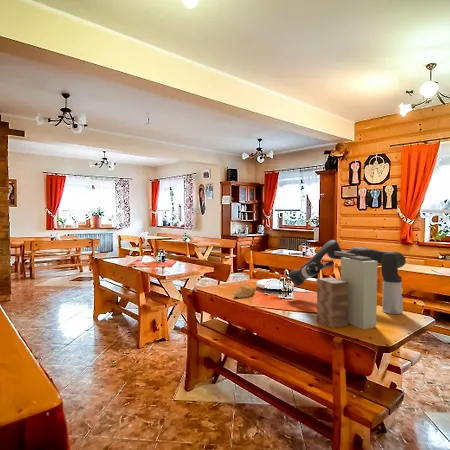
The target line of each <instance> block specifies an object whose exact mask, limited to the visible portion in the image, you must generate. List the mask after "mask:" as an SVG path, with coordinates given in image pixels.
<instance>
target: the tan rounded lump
mask: <svg viewBox="0 0 450 450" xmlns="http://www.w3.org/2000/svg"><path fill="white" fill-rule="evenodd" d="M254 293H256V288H254V287H251V286H250V285H247V284H245V285H242V286H239V288H238V289H237V290H236V292H235V293H234V294H233V297H234V298H236V297H237V298H241V297H242V298H249V297H251V296H253V294H254Z"/></svg>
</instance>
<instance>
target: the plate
mask: <svg viewBox="0 0 450 450" xmlns="http://www.w3.org/2000/svg"><path fill="white" fill-rule="evenodd" d="M272 279H273V278H267V279H266V278H264V279H260V280H257V281H256V286H257V287H258V288H261V289H264V286H265V284H266V282H267V281H268V280H272ZM291 282H292V281H291ZM292 286H293V287H294V286H295V284H294V283H293V282H292Z"/></svg>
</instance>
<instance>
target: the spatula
mask: <svg viewBox="0 0 450 450" xmlns="http://www.w3.org/2000/svg"><path fill="white" fill-rule="evenodd" d="M334 255H336V256H341V257H347V258H350V259H353V260H359V261H369V260H371V258H369V257H363V256H356V254H351V253H345V252H339V251H334Z"/></svg>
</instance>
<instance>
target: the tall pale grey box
mask: <svg viewBox="0 0 450 450" xmlns="http://www.w3.org/2000/svg"><path fill="white" fill-rule="evenodd" d="M378 264H379V263H378V261H374V260H369V261H359V260H353V259H350V258H347V257H342V258H341V259H340V280H343V281H346V282H348V324H351V326H355V327H357V328H359V329H361V330H367V329H368V330H369V329H373V328H374V327H375V328H377V310H378V309H377V307H378V306H377V305H378V304H377V303H378V301H377V300H378Z"/></svg>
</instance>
